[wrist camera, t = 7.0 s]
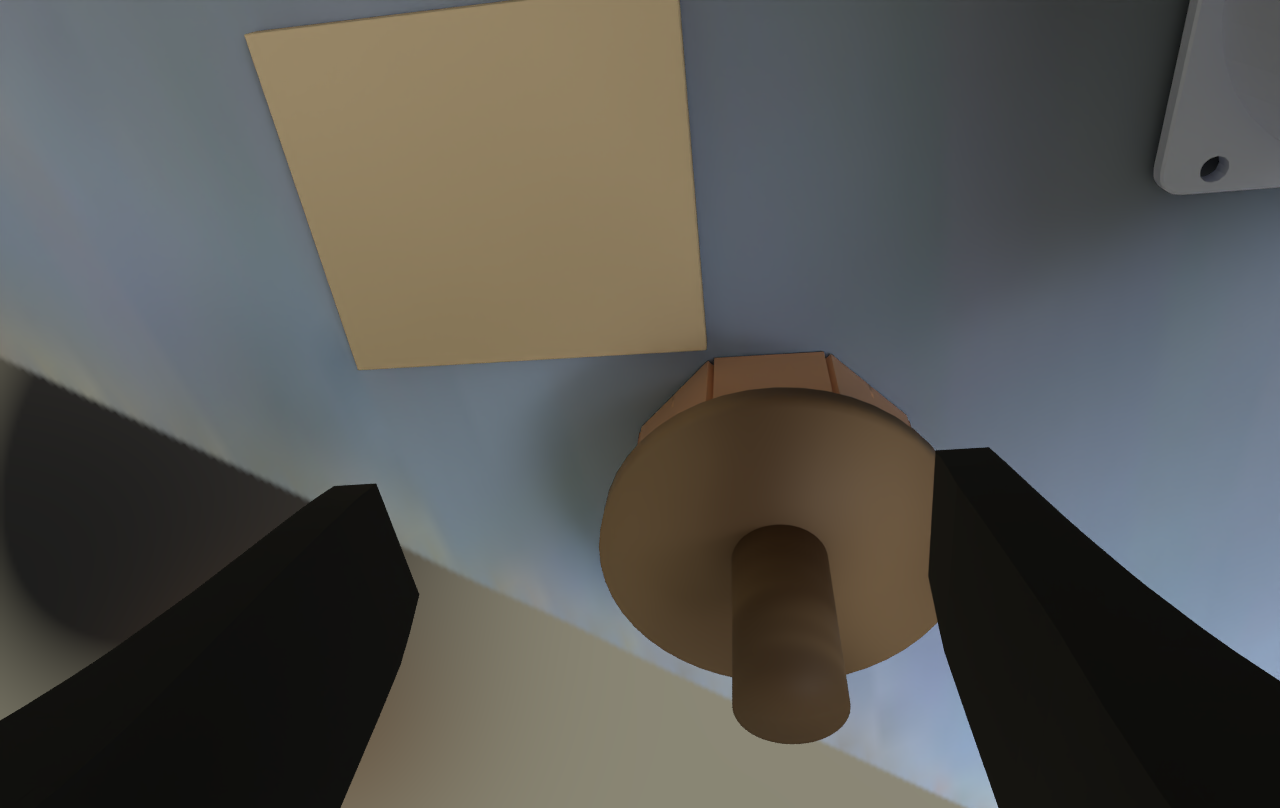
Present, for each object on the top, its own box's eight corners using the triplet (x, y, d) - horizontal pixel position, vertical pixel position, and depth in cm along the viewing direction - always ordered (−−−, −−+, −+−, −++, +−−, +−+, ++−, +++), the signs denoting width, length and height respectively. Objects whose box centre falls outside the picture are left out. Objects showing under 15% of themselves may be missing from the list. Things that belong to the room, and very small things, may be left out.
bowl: (914, 346, 20) (941, 412, 17) (899, 561, 23) (920, 642, 21) (629, 362, 21) (615, 427, 18) (657, 566, 24) (649, 644, 22)
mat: (678, -20, 16) (676, -18, 16) (706, 340, 20) (706, 350, 20) (255, 31, 17) (244, 34, 17) (365, 360, 21) (358, 370, 21)
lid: (922, 339, 16) (986, 486, 12) (989, 624, 20) (1054, 806, 16) (547, 444, 18) (496, 597, 14) (672, 681, 22) (661, 854, 18)
